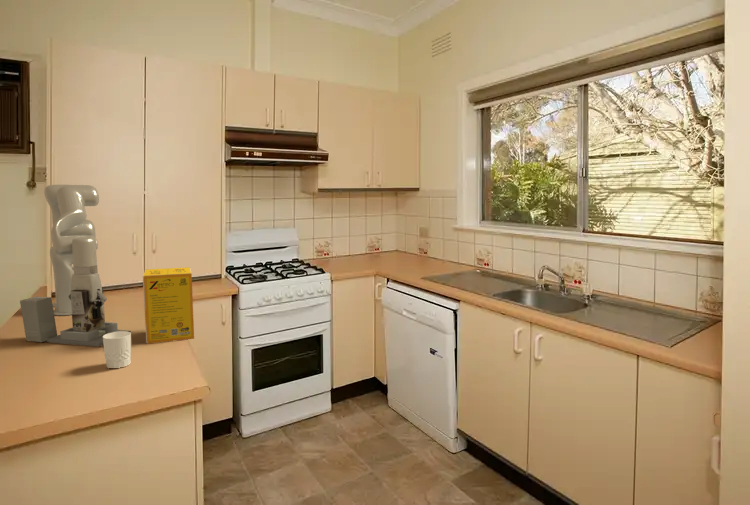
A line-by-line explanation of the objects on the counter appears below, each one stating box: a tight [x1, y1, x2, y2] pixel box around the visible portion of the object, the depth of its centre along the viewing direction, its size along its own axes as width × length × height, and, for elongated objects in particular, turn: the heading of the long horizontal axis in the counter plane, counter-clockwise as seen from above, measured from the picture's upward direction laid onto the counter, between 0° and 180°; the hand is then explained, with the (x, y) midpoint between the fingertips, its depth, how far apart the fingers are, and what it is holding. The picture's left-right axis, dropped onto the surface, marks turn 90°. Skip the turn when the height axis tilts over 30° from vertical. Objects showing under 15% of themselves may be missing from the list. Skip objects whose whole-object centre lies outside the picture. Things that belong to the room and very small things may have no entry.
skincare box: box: [19, 296, 58, 343], centre depth 172 cm, size 8×7×16 cm
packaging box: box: [142, 266, 195, 344], centre depth 179 cm, size 16×16×25 cm
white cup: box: [102, 330, 132, 369], centre depth 148 cm, size 8×8×10 cm
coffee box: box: [71, 286, 106, 333], centre depth 175 cm, size 9×6×16 cm
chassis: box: [46, 321, 132, 347], centre depth 176 cm, size 22×16×4 cm
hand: (88, 317), depth 175 cm, fingers closed on coffee box, 6 cm apart
